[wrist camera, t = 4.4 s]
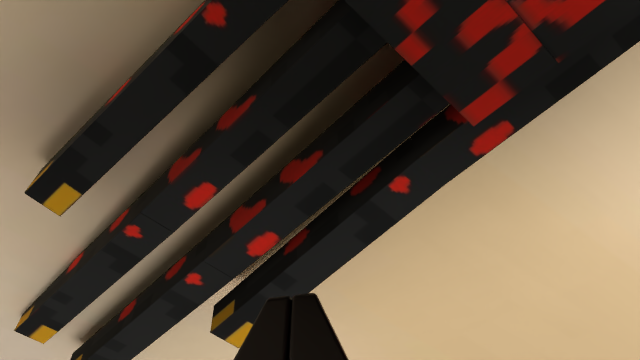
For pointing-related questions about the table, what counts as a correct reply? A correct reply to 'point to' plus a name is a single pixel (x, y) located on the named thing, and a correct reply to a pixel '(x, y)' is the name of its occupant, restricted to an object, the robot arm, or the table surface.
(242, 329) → the toy
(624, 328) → the table surface
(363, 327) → the table surface
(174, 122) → the table surface
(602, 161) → the table surface
